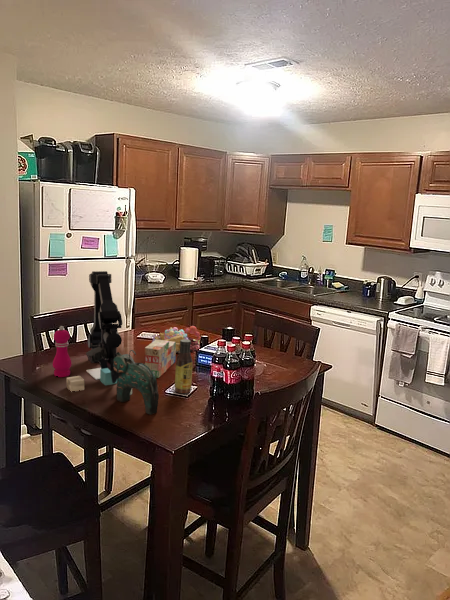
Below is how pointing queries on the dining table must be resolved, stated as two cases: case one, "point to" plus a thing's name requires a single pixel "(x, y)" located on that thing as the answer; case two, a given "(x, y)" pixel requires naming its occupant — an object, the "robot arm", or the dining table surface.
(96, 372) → the white mat
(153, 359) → the stack of blocks
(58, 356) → the pepper mill
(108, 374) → the teal block
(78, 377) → the birch block
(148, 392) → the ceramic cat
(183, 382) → the sauce bottle
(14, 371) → the dining table surface
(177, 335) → the pastel sphere sculpture
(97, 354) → the robot arm
